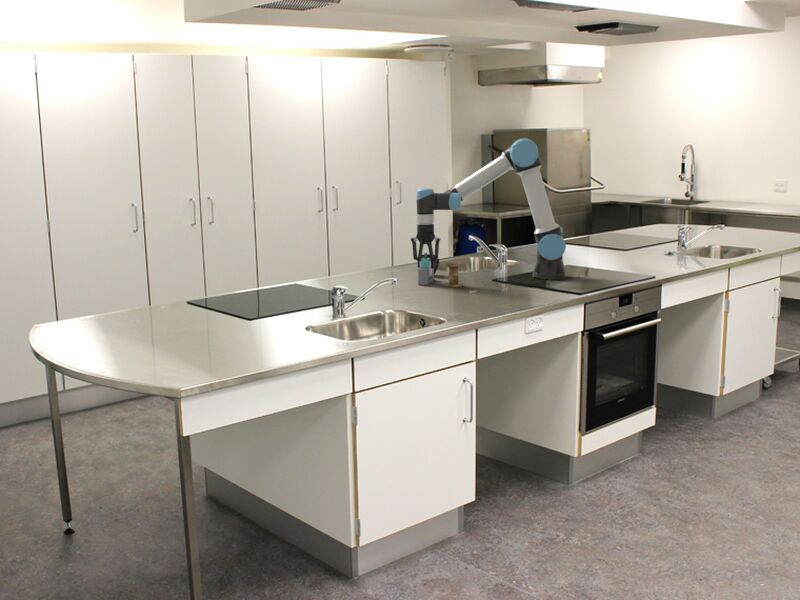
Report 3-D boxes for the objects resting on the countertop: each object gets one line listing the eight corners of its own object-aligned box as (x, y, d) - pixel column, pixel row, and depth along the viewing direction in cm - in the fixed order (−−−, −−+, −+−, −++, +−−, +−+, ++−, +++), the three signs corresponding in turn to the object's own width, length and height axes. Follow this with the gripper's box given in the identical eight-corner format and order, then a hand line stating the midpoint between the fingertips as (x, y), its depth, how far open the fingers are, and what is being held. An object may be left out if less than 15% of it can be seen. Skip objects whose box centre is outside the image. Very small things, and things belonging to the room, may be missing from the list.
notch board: (434, 279, 401) (433, 264, 400) (427, 285, 388) (427, 269, 386) (425, 279, 402) (425, 264, 401) (418, 285, 389) (418, 269, 388)
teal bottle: (430, 275, 396) (430, 252, 394) (429, 276, 392) (428, 253, 390) (423, 275, 397) (422, 252, 395) (421, 276, 393) (421, 253, 391)
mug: (430, 278, 404) (430, 258, 403) (415, 275, 414) (415, 255, 412) (445, 276, 409) (444, 256, 407) (430, 273, 419) (429, 253, 417)
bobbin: (464, 284, 388) (464, 262, 386) (461, 287, 380) (460, 265, 378) (446, 284, 390) (446, 261, 388) (443, 287, 382) (442, 264, 380)
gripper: (445, 222, 391) (445, 274, 396) (409, 222, 395) (410, 273, 400) (441, 224, 384) (442, 277, 389) (405, 224, 388) (406, 276, 393)
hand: (426, 275), depth 394 cm, fingers closed on teal bottle, 3 cm apart
